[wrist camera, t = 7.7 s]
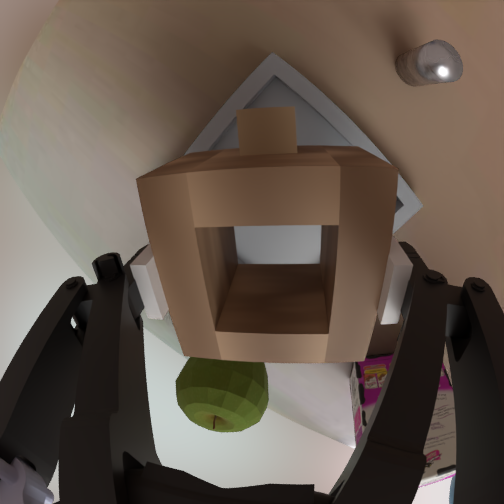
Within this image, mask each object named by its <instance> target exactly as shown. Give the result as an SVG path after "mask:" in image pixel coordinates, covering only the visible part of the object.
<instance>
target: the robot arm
mask: <svg viewBox="0 0 504 504" xmlns="http://www.w3.org/2000/svg"><path fill="white" fill-rule="evenodd" d="M92 265H93V268H94V271H95V274H96V276H97V279H98V282H97V284H92V285H86V283H85V280H84V278H83V277H81V276H77V277H72V278H69V279H67V280H66V281H65V282H64V283H63V284H62V285H61V286H60V287H59V289H58V290H57V291H56V293H55V294H54V295H53V297H52V298H51V300H50V301H49V303H48V304H47V305H46V307H45V308H44V310H43V311H42V312H41V314H40V315H39V317H38V319H37V320H36V321H35V323H34V325H33V326H32V328H31V329H30V331H29V332H28V334H27V335H26V337H25V339H24V340H23V342H22V343H21V345H20V347H19V349H18V350H17V352H16V354H15V355H14V357H13V359H12V361H11V363H10V364H9V366H8V368H7V370H6V372H5V374H4V375H3V378H2V379H1V381H0V504H51V503H52V502H53V501H54V495H53V493H52V492H51V490H49V489H47V487H48V485H49V483H50V481H51V479H52V477H53V474H54V472H55V469H56V465H57V462H58V459H59V498H60V501H58V502H56V503H53V504H412V502H413V500H414V497H415V494H416V492H417V490H418V487H419V485H420V482H421V479H422V477H423V474H424V471H425V467H426V463H427V456H425V455H424V454H423V450H424V446H425V442H426V439H427V435H428V432H429V428H430V424H431V420H432V416H433V412H434V408H435V403H436V398H437V393H438V388H439V382H440V376H441V370H442V363H443V355H444V346H445V341H446V347H447V352H448V358H449V364H450V371H451V378H452V386H453V395H454V406H455V421H456V474H455V475H454V476H453V477H452V481H451V486H450V496H449V497H450V498H449V504H504V313H503V311H502V309H501V307H500V305H499V303H498V301H497V299H496V297H495V295H494V293H493V291H492V289H491V287H490V286H489V284H487V283H486V282H485V281H484V280H482V279H480V278H475V277H469V278H467V279H466V280H465V282H464V285H463V287H458V286H452V285H448V282H447V279H446V278H445V277H444V276H443V275H442V274H441V273H439V272H436V271H434V270H429V269H428V267H427V266H426V265H425V263H424V262H423V260H422V259H421V258H420V256H419V255H418V254H417V252H416V251H415V249H414V248H413V247H412V246H411V245H409V244H408V243H406V242H397V240H396V239H395V237H394V236H393V234H392V240H391V247H390V253H389V255H388V261H387V266H386V272H385V277H384V282H383V287H382V292H381V297H380V301H379V306H378V310H377V314H378V317H379V321H380V324H396V323H398V320H399V317H400V314H401V313H402V315H403V318H404V321H403V324H402V327H401V330H400V333H399V336H398V339H397V345H396V348H395V351H394V355H393V358H392V361H391V364H390V367H389V370H388V373H387V375H386V378H385V381H384V384H383V386H382V389H381V392H380V394H379V397H378V399H377V402H376V404H375V407H374V409H373V412H372V414H371V416H370V419H369V421H368V423H367V425H366V427H365V430H364V432H363V434H362V436H361V438H360V440H359V442H358V444H357V446H356V448H355V450H354V452H353V454H352V456H351V458H350V460H349V462H348V464H347V466H346V467H345V469H344V471H343V473H342V474H341V476H340V478H339V479H338V481H337V482H336V484H335V485H334V487H333V488H332V490H331V492H330V493H329V495H328V494H324V493H321V492H316V491H314V484H310V485H307V484H306V485H296V484H265V485H257V486H249V487H239V488H220V487H218V486H215V485H213V484H211V483H208V482H206V481H204V480H201V479H199V478H197V477H195V476H193V475H191V474H188V473H186V472H184V471H181V470H177V469H173V468H169V467H165V466H162V464H161V463H160V460H159V458H158V456H157V454H156V450H155V444H154V438H153V433H152V425H151V418H150V410H149V401H148V392H147V382H146V370H145V357H144V338H143V337H144V336H143V320H142V317H141V315H140V313H141V312H142V310H143V309H145V312H146V314H147V317H148V318H150V319H160V320H163V319H164V317H165V315H166V313H167V312H168V310H169V308H168V305H167V302H166V298H165V295H164V292H163V288H162V285H161V281H160V278H159V274H158V271H157V267H156V263H155V260H154V256H153V253H152V250H151V246H150V244H149V245H146V246H144V247H143V248H141V249H139V250H138V252H137V253H136V254H135V256H133V257H132V258H131V260H129V261H128V262H127V263H126V264H125V265H124V266H123V263H122V260H121V257H120V254H118V253H107V254H104V255H101V256H100V257H98V258H96V259H95V260H94V261H93V262H92ZM72 317H73V319H74V321H75V323H76V327H75V328H73V326H72V325H71V319H72ZM74 404H75V411H74V415H73V417H71V413H72V410H73V407H74Z"/></svg>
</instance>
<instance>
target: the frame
mask: <svg viewBox="0 0 504 504" xmlns="http://www.w3.org/2000/svg"><path fill="white" fill-rule="evenodd" d="M236 117H237V128H238V139H239V148H234V149H222V150H211V151H202V152H193V153H189V154H187V155H184V156H182V157H180V158H178V159H176V160H174V161H171V162H169V163H167V164H165V165H163V166H161V167H159V168H157V169H155V170H153V171H151V172H149V173H147V174H145V175H143V176H141V177H139V178H137V179H136V182H137V187H138V192H139V197H140V202H141V207H142V211H143V216H144V220H145V225H146V229H147V233H148V237H149V242H150V246H151V250H152V253H153V256H154V260H155V263H156V267H157V271H158V274H159V278H160V281H161V285H162V288H163V292H164V295H165V298H166V302H167V305H168V308H169V313H170V316H171V319H172V322H173V325H174V328H175V331H176V334H177V337H178V340H179V343H180V345H181V348H182V351H183V354H184V356H189V357H198V358H208V359H219V360H231V361H246V362H268V363H339V362H360V361H364V360H365V357H366V354H367V350H368V347H369V343H370V340H371V336H372V333H373V329H374V325H375V321H376V317H377V310H378V306H379V301H380V297H381V292H382V287H383V282H384V277H385V272H386V266H387V261H388V255H389V253H390V247H391V240H392V233H393V226H394V218H395V208H396V198H397V187H398V172H399V169H398V168H396V167H394V166H393V165H391V164H389V163H388V162H386V161H384V160H382V159H381V158H379V157H377V156H375V155H373V154H372V153H370V152H368V151H366V150H364V149H362V148H360V147H359V146H329V145H298V146H297V136H296V118H295V106H290V107H266V108H252V109H240V110H236ZM282 225H321V250H320V264H238V257H237V249H236V240H235V231H234V226H282Z"/></svg>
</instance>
